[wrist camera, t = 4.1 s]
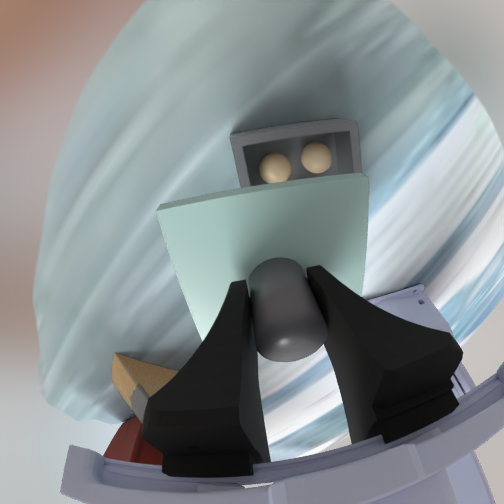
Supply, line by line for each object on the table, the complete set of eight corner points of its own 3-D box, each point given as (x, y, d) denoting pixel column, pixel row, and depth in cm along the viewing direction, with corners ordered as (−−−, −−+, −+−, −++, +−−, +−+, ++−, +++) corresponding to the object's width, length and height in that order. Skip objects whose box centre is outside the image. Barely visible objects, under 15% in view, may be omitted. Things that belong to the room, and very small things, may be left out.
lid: (355, 169, 11) (418, 209, 7) (349, 312, 15) (379, 374, 11) (163, 200, 11) (127, 257, 7) (208, 337, 15) (206, 407, 11)
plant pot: (181, 450, 46) (180, 515, 31) (101, 419, 38) (88, 492, 24) (239, 429, 40) (245, 513, 25) (140, 392, 33) (124, 496, 18)
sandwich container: (112, 349, 28) (81, 459, 15) (230, 381, 32) (235, 489, 19) (111, 382, 32) (90, 472, 19) (211, 408, 36) (211, 497, 22)
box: (336, 118, 18) (357, 121, 15) (345, 214, 22) (363, 232, 18) (230, 134, 18) (230, 138, 15) (251, 233, 22) (255, 255, 19)
